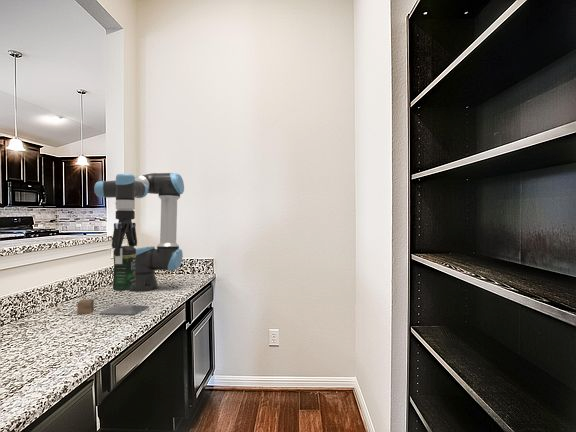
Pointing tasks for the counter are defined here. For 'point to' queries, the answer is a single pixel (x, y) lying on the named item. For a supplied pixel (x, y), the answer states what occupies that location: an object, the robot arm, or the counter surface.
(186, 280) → the counter surface
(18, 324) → the counter surface
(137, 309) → the plate
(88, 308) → the walnut block
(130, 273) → the coffee jar
